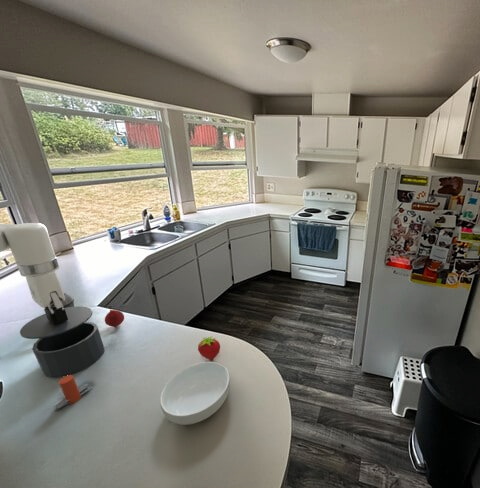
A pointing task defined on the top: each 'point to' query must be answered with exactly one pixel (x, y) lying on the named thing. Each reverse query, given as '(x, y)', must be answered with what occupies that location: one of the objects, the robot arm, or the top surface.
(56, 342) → the processor bowl
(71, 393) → the blade
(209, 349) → the strawberry
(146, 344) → the top surface
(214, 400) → the cereal bowl
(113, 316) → the onion
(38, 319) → the lid
